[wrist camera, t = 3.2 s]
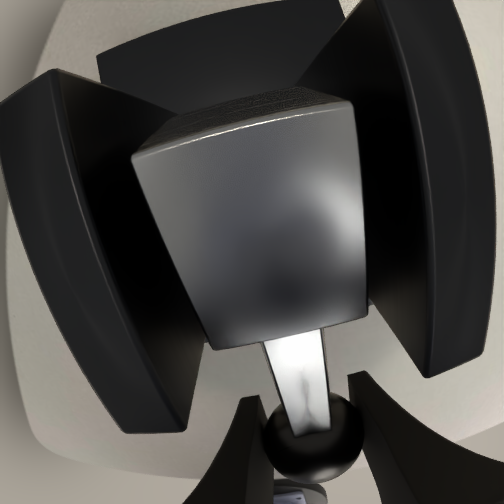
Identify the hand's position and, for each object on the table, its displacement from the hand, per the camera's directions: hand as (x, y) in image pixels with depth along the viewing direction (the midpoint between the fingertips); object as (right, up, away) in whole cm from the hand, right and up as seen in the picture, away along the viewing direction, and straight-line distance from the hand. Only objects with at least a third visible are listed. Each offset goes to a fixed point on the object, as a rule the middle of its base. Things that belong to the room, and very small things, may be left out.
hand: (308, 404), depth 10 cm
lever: (-1, +3, -2) cm, 4 cm away
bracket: (-2, +8, +1) cm, 9 cm away
